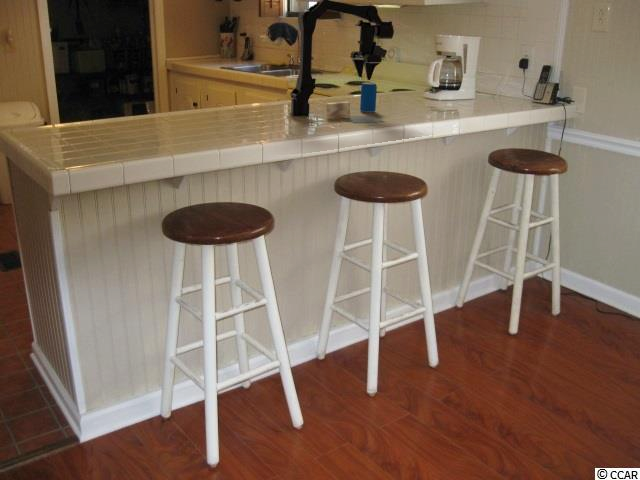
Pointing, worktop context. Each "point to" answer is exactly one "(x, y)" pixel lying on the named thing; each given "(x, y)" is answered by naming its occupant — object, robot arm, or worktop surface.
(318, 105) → the worktop surface
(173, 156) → the worktop surface
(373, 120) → the mat
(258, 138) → the worktop surface
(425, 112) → the worktop surface
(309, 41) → the robot arm
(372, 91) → the beverage can
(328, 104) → the rectangular block
